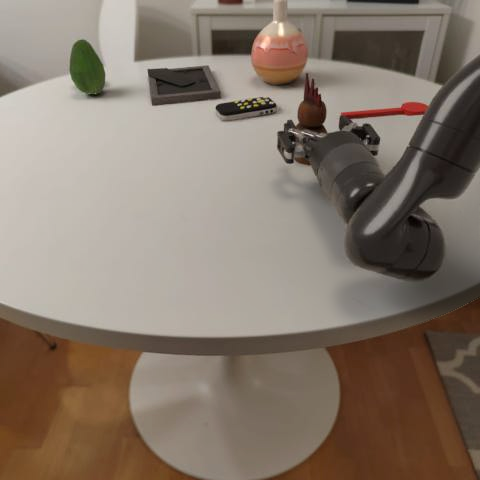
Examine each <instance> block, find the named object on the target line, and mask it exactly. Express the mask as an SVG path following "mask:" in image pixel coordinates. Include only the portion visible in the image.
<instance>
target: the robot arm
mask: <svg viewBox="0 0 480 480" xmlns="http://www.w3.org/2000/svg"><path fill="white" fill-rule="evenodd" d="M427 106H428V108H427V110H426V111H425V113H424V115H422V117H421V119H420V121H419V123H418V125H417V127H416V129H415V131H414V132H413V134H412V136H411V138H410V140H409V142H408V145H407V146H406V148H405V149H404V152H403V154H402V155H401V157H400V158H399V160H398V161H397V162H396V164H395V165H394V166H392V168H391V169H390V171H389V172H388V173H385V172H384V171H383V169H382V167H381V165H380V163H379V161H378V160H377V158H376V157H377V156H378V155H379V148H380V143H381V136H380V135H379V134H378V133H377V131H376V130H375V129H374V127H373V126H372V124H370V123H367V122H366V123H362V126H360V125H359V123H358V122H354V121H353V120H352V118H347V117H346V116H345V115H341V114H340V115H339V118H338V120H339V121H338V130H336V131H333V132H332V131H331V132H327V133H316V132H314V131H311V130H308V129H305V130H303V131H301V130H298V129H297V128H296V124H295V122H294V121H293V119H286V122H284V124H283V130H279V131H277V132H276V133H277V134H276V135H277V142H276V143H277V144H276V149H277V151H278V152H279V154H280V156H281V157H282V159H283V160H284V162H285V164H288V165H291V164H292V165H293V164H294V163H295V159H294V158H299V157H304V158H305V159H306V160H308V161H309V162H310V164H311V165H310V166H311V169H312V171H313V173H314V175H315V177H316V178H317V181H318V183H319V185H320V188H322V190H323V192H324V193H325V195H326V196H327V198H328V199H329V200H330V201H331V203H332V204H333V206H334V207H335V209H336V211H337V212H338V215H339V216H340V218H341V219H342V221H343V222H344V223H345V224H346V225H347V226H346V228H345V231H344V237H343V248H344V252H345V255H346V257H347V260H349V261H350V263H352V265H354V266H356V267H357V268H360V269H362V270H365V271H368V272H372V273H376V274H380V275H383V276H385V277H389V278H393V279H395V280H399V281H403V282H406V283H407V282H408V283H416V282H417V283H418V282H422V281H426V280H428V279H430V278H432V277H434V276H435V275H436V274H437V273H438V272H439V270H440V269H441V267H442V266H443V264H444V262H445V259H446V255H447V241H446V237H445V233H444V232H443V229H442V227H441V226H440V224H439V223H438V222H437V220H435V219H434V217H432V216H431V215H430V214H429V213H428V212H427V211H426V210H425V209H423V208H422V207H421V205H423V204H424V203H425V202H426V201H429V200H432V199H437V200H455V199H458V198H460V197H461V196H463V194H464V193H465V192H466V190H467V189H468V188H469V187H470V185H471V183H472V182H473V180H474V179H475V178H476V174H477V173H478V171H479V170H480V54H478V55H477V56H475V57H474V58H473V59H471V60H470V61H469V62H468V63H467V64H465V65H463V66H462V67H461V68H460V69H459V70H457V71H456V72H455V73H454V74H453V75H452V76H450V78H449V79H448V80H447V81H446V82H444V84H443V85H442V86H441V87H440V88H439V89H438V91H437V92H436V94H435V95H434V97H433V98H432V99H431V101H430V103H429V105H427ZM296 136H297V137H298V138H299V143H298V142H296ZM308 138H311V139H310V140H309V141H308Z"/></svg>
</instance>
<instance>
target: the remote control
mask: <svg viewBox="0 0 480 480" xmlns="http://www.w3.org/2000/svg"><path fill="white" fill-rule="evenodd" d="M277 106H278V105H277V103H276V102H275V101H274V100H273V99H272V98H270V97H268V96H267V95H264V96H259V97H253V98H247V99H241V100H235V101H228V102H222V103H218V104H216V105H215V114H216V115H217V116H218V117H219V118H220V119H221V120H222V121H224V122H225V121H227V122H228V121H233V120H239V119H247V118H251V117H252V118H253V117H258V116H265V115H270V114H274V113H276V111H277Z"/></svg>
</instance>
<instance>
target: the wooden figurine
mask: <svg viewBox="0 0 480 480" xmlns="http://www.w3.org/2000/svg"><path fill="white" fill-rule="evenodd" d="M327 113H328V111H327V106H326V104H325V102H324V101H323V100H322V94H321V93H319V87H318V86H317V87H315V78H314V77H313V78H311V81H310V76H309V73H308V72H306V73H305V79H304V89H303V100H302V101H300V103H299V105H298V108H297V114H296V115H297V120H298V123H297V124H295V126H296V128H297V129H298V130H301V131H303V130H305V129H308V130H311V131H314V132H316V133H328V130H327V129H326V127H325V125H324V123H325V121H326V119H327ZM310 139H311V138H308V141H309V140H310ZM296 142H298V143H299V138H298V137H297V136H296ZM294 161H295V162H296V163H298V164H302V165H310V166H311V164H310V162H309V161H308V160H306V159H305V158H304V157H299V158H294Z"/></svg>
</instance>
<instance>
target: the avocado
mask: <svg viewBox="0 0 480 480" xmlns="http://www.w3.org/2000/svg"><path fill="white" fill-rule="evenodd" d="M70 51H71V52H70V58H69V69H68V70H69V74H70V78H71V81H72V82H73V83H74V86H75V87H76V89H78V90H79V91H80V92H82V93H84V94H87V93H90V94H95V93H99V92H100V93H102V91H103V90H104V88H105V86H106V71H105V68H104V67H105V66H104V64H103V62H102V61H101V59H100V57H99V55H98V54H97V52H96V51H95V49H94V47H93V46H92V44H91V43H90V42H89V41H87V40H86V39H84V38H82V39H78V40H76V41H75V42H74V43H73V45H72V47H71V50H70ZM100 93H99V94H100ZM90 94H89V95H90Z"/></svg>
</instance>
